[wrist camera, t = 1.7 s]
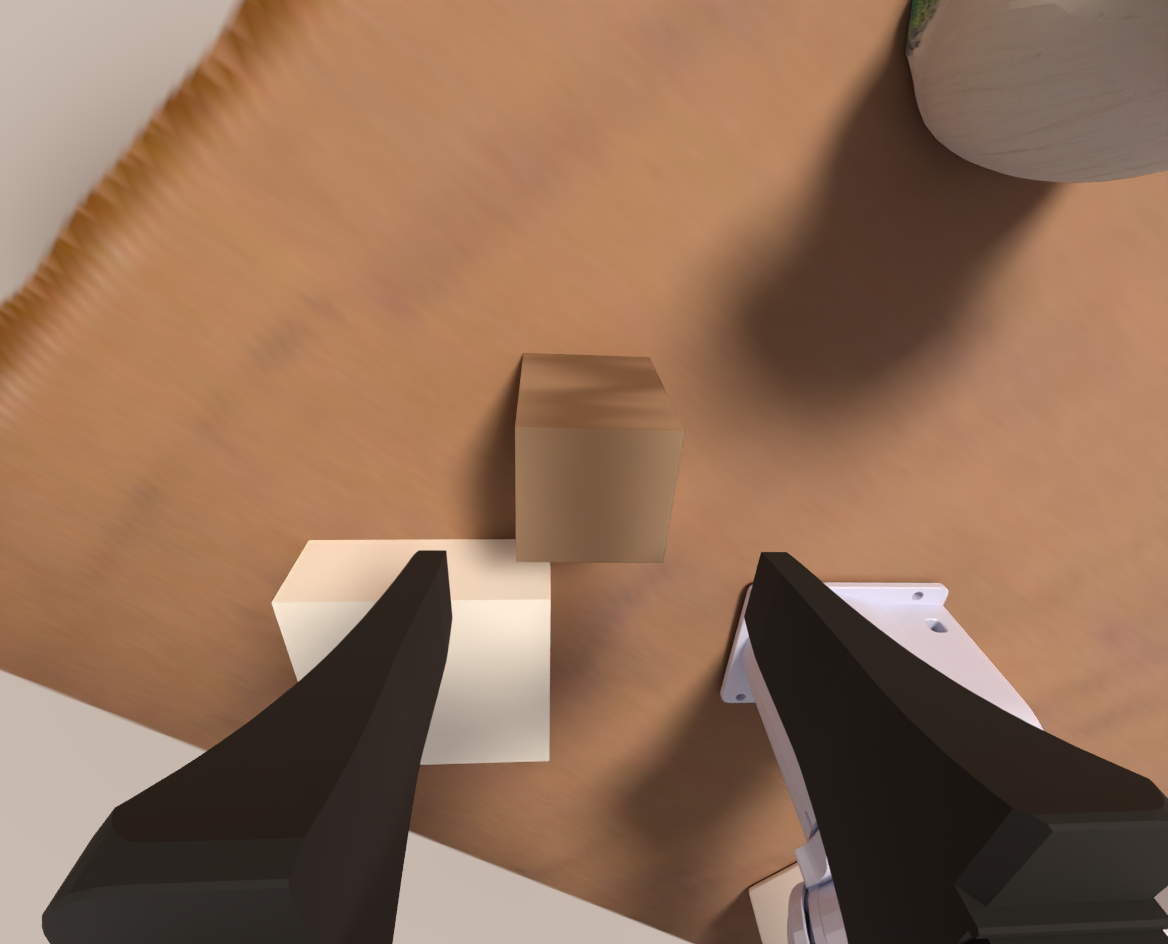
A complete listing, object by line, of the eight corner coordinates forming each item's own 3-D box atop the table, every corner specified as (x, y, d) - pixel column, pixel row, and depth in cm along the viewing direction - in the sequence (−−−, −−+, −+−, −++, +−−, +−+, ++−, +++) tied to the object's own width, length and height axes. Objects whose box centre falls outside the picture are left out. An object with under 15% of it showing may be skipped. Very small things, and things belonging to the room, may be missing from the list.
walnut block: (649, 356, 20) (684, 431, 15) (636, 465, 22) (663, 563, 17) (523, 352, 20) (514, 427, 15) (523, 463, 22) (516, 562, 17)
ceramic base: (550, 534, 24) (550, 599, 21) (549, 688, 29) (549, 760, 26) (312, 535, 24) (271, 602, 20) (353, 692, 29) (326, 767, 25)
